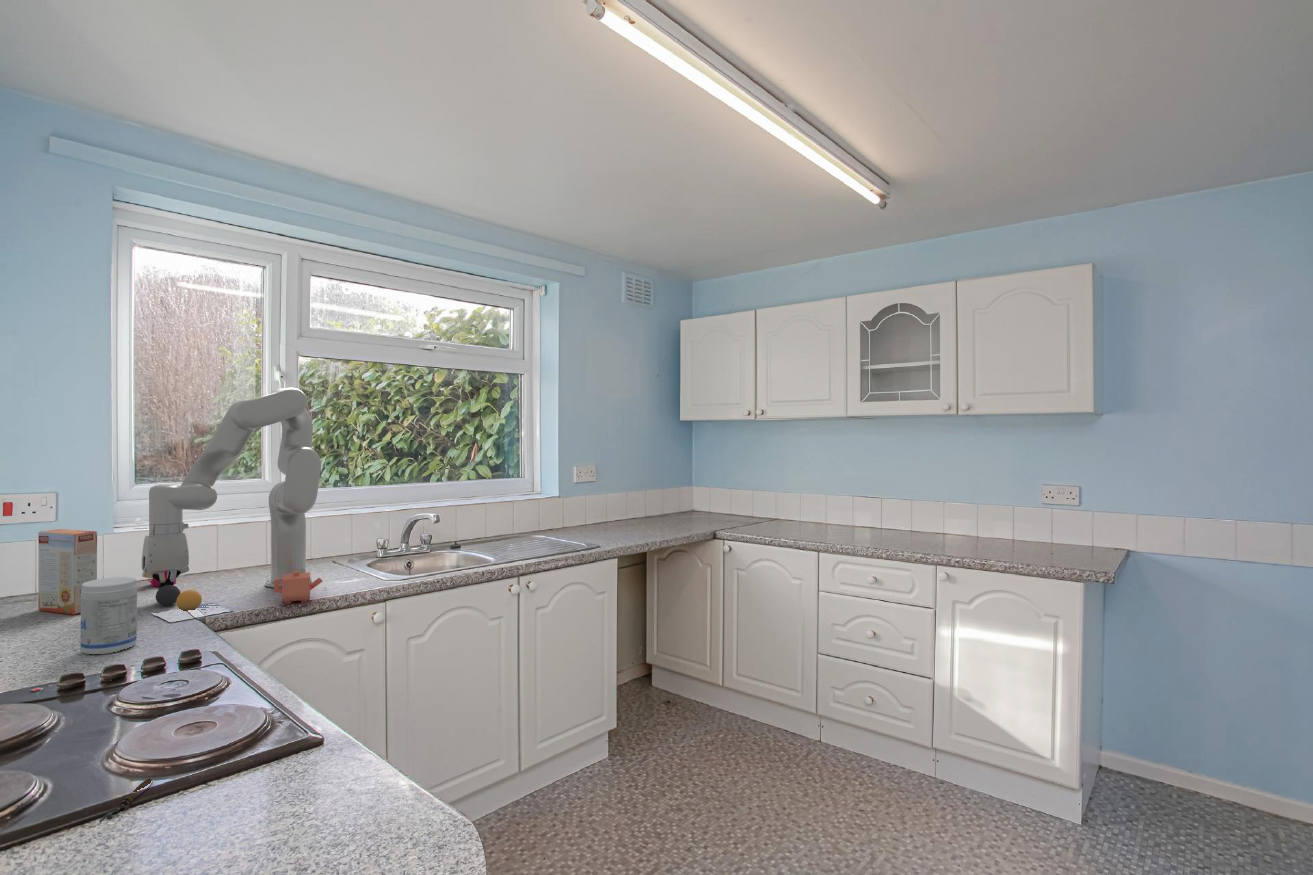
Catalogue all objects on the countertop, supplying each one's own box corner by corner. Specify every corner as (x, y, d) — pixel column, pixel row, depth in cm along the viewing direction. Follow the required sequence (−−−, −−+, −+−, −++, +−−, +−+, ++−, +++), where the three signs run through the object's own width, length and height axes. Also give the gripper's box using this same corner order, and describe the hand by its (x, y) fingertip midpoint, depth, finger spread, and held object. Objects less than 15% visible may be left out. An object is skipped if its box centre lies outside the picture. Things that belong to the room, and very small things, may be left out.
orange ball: (195, 602, 183) (203, 613, 180) (171, 606, 178) (179, 617, 175) (198, 584, 182) (206, 594, 179) (175, 587, 177) (182, 598, 174)
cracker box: (99, 610, 179) (98, 530, 179) (72, 615, 174) (72, 533, 174) (63, 605, 184) (63, 527, 184) (37, 611, 178) (36, 530, 178)
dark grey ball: (176, 584, 188) (182, 603, 188) (152, 590, 185) (157, 610, 184) (178, 580, 184) (183, 600, 184) (153, 587, 181) (159, 606, 180)
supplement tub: (76, 649, 147) (75, 581, 147) (130, 639, 154) (130, 574, 154) (86, 659, 141) (86, 588, 141) (142, 648, 148) (142, 580, 148)
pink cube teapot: (322, 602, 189) (322, 572, 189) (273, 606, 184) (273, 576, 184) (322, 595, 196) (322, 567, 196) (275, 600, 191) (275, 570, 191)
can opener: (144, 786, 92) (144, 778, 91) (162, 786, 92) (162, 777, 92) (92, 826, 82) (92, 816, 82) (112, 825, 83) (112, 816, 83)
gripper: (192, 525, 197) (192, 589, 197) (128, 531, 185) (128, 599, 185) (202, 528, 192) (202, 593, 192) (137, 534, 180) (137, 603, 180)
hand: (166, 596), depth 188 cm, fingers closed
